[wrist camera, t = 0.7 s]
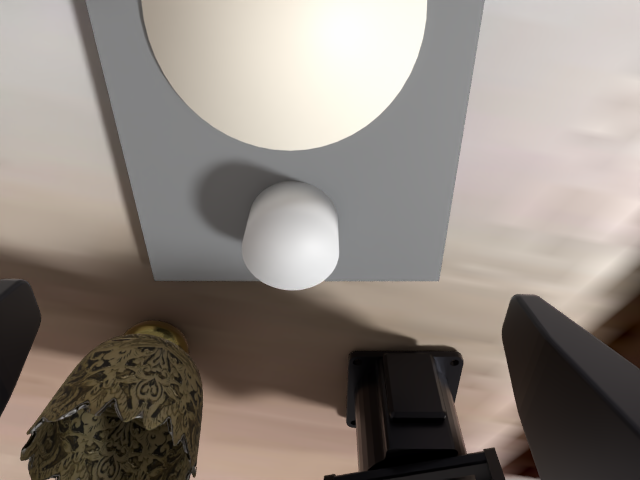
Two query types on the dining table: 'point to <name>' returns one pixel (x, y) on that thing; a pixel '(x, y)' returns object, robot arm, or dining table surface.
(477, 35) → the carrier plate
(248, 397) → the dining table surface
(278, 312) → the dining table surface
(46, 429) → the cup
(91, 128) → the dining table surface
